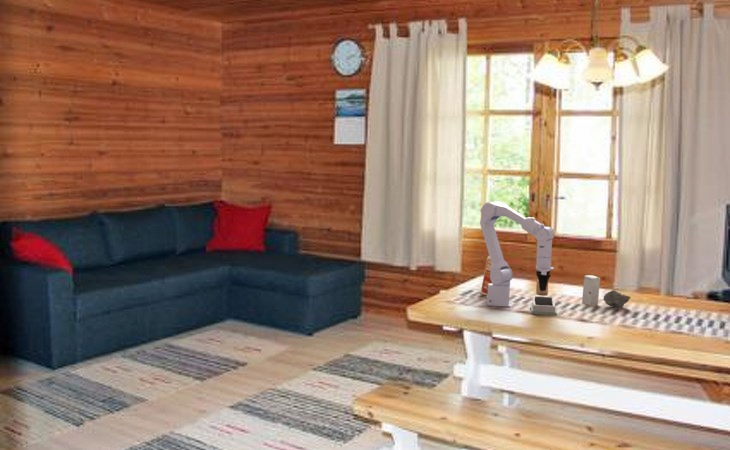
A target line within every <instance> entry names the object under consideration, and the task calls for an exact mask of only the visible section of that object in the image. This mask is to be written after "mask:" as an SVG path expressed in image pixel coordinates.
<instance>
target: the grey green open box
mask: <svg viewBox="0 0 730 450" xmlns="http://www.w3.org/2000/svg"><path fill="white" fill-rule="evenodd" d="M530 313H531V314H532V315H544V316H545V315H547V316H558V313H557V308H556V303H555V301H554V300H553V297H552V296H541V295H535V296H534V299H532V304H530Z"/></svg>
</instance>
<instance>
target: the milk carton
mask: <svg viewBox="0 0 730 450" xmlns="http://www.w3.org/2000/svg"><path fill="white" fill-rule="evenodd" d="M504 261H506V260H505V259H504ZM491 264H492V263H491V260H490V256H489V255H488V256H487V258H486V262H485V267H484V268H485V269H484V274H483V277H482V278H483V279H482V282H481V288H480V294H482V295H484V296H486V297H487V296H488V284H492V283H493V282H492V281H491V279H490V267H491Z"/></svg>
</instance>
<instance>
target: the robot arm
mask: <svg viewBox="0 0 730 450" xmlns="http://www.w3.org/2000/svg"><path fill="white" fill-rule="evenodd" d="M500 217H506V218H509V219H510V220H511V221H514V222H515V223H517V224H519V225H521V229H522V230H524V231H525V232H527V233H528V234H530V235H532V236H533V237H535V239H536V241H537V244H536V245H537V247H536V263H535V264H536V266H535V273H536V277H537V280H539V288H540V291H545V290H546V287H547V282H548V281H549V279H550V277H551V274H550V272H551V271H552V270H555V268H554V266H552V249H553V247H552V245H553V239H554V238H555V230H554V229H553V228H552V227H551V226H549V225H548V226H546V225H545V224H544V223H541V222H539V221H537V220H536V218H535V217H531V216H528V217H525V216H524V215H522V214H520V213H519V212H518V211H516V210H515V209H513V208H511V207H510V206H509V205H508V204H506V203H503V202H502V201H500V200H498V201H497V200H496V201H491V202H485V203H484V204H483V205H482V207H481V208H480V223H479V224H480V229H481V232H482V235H483V238H484V241H485V246H486V249H487V252H488V256H490V260H491V263H492V264H491V267H490V279H491V281H492V282H493V283H492V284H488V296H487V295H486V301H487V304H486V306H489V307H490V306H493V307H504V308H505V307H507V308H510V307H511V302H510V295H511V294H510V290H511V281H512V280H513V278H514V273H513V270H512V269H511V268H510V266H509V263H508V262H507V261H506V260H505V259H504V255H503V252H502V249H501V246H500V242H499V238H498V235H497V230H496V228H495V224H496V222H497V221H498V219H499V218H500ZM504 260H505V261H504ZM548 283H549V282H548Z"/></svg>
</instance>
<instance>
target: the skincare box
mask: <svg viewBox="0 0 730 450" xmlns="http://www.w3.org/2000/svg"><path fill="white" fill-rule="evenodd" d="M600 284H601V277H598V276H596V275H592V274H591V275H590V274H589V275H584V276H583V287H582V300H581V302H582V303H583V304H585V305H588V306H598V305H599V295H600V287H601V285H600Z"/></svg>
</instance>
